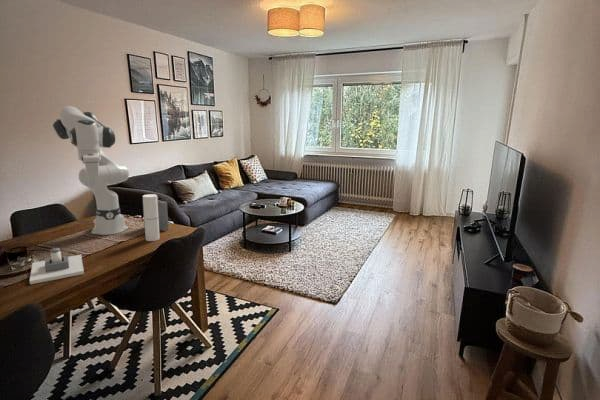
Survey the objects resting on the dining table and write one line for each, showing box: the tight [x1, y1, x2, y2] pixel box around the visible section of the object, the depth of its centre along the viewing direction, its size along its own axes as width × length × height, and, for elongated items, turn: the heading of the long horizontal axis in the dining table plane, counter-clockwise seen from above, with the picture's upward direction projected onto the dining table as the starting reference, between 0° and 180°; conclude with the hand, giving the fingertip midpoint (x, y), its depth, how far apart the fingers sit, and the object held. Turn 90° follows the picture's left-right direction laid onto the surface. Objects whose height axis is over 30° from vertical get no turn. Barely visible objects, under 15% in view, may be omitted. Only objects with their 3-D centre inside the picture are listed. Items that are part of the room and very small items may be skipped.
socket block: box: [29, 254, 85, 285], centre depth 141 cm, size 20×18×4 cm
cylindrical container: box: [142, 193, 160, 242], centre depth 179 cm, size 7×7×25 cm
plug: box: [49, 247, 62, 263], centre depth 141 cm, size 4×4×8 cm
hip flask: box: [142, 196, 169, 232], centre depth 197 cm, size 16×4×20 cm, turn 77°
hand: (93, 185), depth 154 cm, fingers closed
